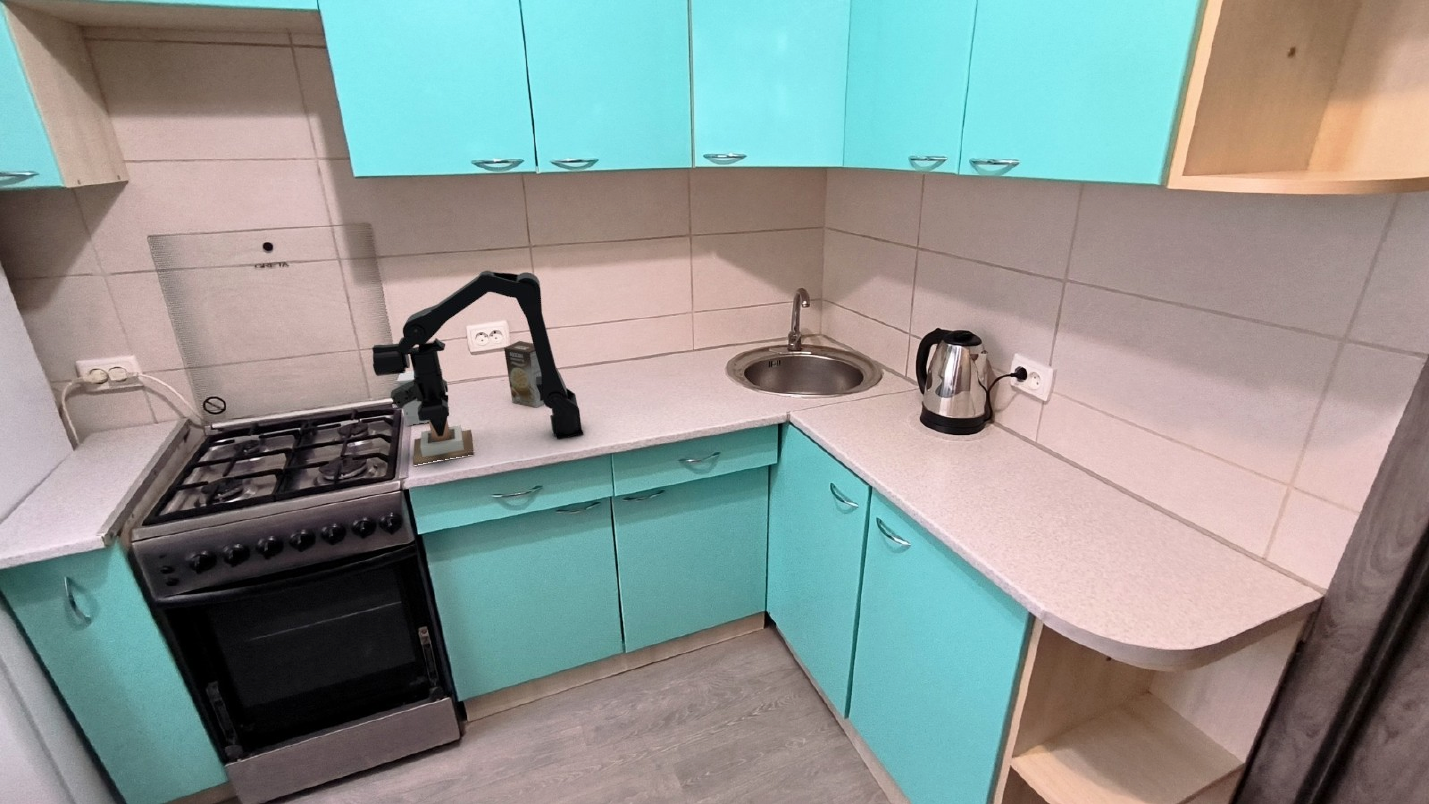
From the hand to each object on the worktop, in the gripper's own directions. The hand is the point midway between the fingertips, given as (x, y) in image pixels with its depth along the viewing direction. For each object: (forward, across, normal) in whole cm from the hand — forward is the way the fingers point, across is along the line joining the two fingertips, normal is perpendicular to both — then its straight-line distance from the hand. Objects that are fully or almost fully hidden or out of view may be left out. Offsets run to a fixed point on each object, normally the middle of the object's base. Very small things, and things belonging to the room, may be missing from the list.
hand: (440, 432), depth 158 cm
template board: (+4, 0, 0) cm, 4 cm away
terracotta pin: (+2, 0, 0) cm, 2 cm away
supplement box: (+5, -21, -5) cm, 22 cm away
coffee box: (+5, -21, +23) cm, 32 cm away
